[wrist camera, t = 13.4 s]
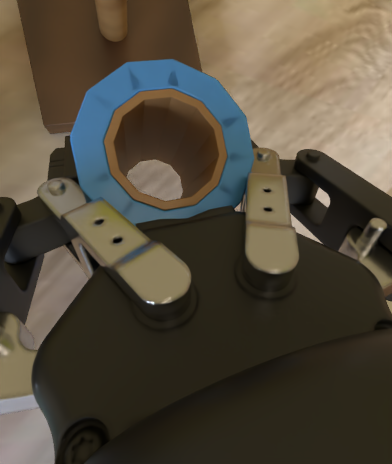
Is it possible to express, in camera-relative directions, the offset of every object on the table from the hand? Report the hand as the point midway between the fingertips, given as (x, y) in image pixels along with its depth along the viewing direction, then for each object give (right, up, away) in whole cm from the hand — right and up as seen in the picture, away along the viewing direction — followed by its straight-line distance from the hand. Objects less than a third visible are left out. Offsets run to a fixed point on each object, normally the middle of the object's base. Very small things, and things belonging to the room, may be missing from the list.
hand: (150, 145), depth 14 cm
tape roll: (0, -2, +3) cm, 3 cm away
